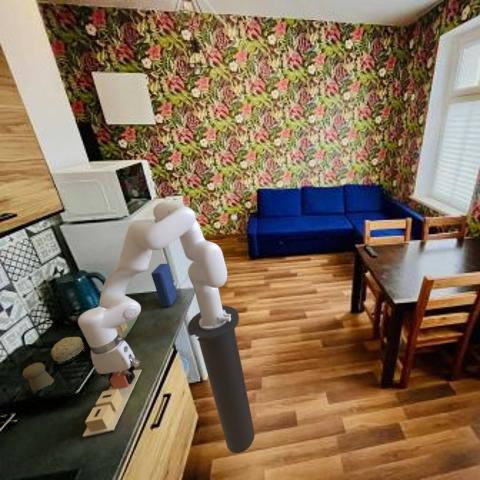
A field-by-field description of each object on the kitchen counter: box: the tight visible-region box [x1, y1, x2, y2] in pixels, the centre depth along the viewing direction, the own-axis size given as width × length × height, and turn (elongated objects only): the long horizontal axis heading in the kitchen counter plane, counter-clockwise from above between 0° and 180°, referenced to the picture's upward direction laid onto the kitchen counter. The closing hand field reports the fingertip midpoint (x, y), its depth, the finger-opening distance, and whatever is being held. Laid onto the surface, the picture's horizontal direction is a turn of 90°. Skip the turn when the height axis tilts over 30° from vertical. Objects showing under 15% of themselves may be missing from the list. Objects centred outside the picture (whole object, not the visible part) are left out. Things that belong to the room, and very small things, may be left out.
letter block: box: [109, 370, 129, 389], centre depth 93 cm, size 4×4×5 cm
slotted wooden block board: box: [82, 369, 143, 438], centre depth 88 cm, size 22×8×5 cm, turn 12°
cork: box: [22, 362, 55, 391], centre depth 91 cm, size 6×6×11 cm
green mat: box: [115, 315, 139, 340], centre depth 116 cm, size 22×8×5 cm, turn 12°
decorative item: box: [50, 336, 85, 362], centre depth 105 cm, size 10×10×10 cm
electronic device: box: [150, 263, 179, 308], centre depth 135 cm, size 10×5×20 cm, turn 6°
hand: (123, 381), depth 94 cm, fingers closed on letter block, 4 cm apart
